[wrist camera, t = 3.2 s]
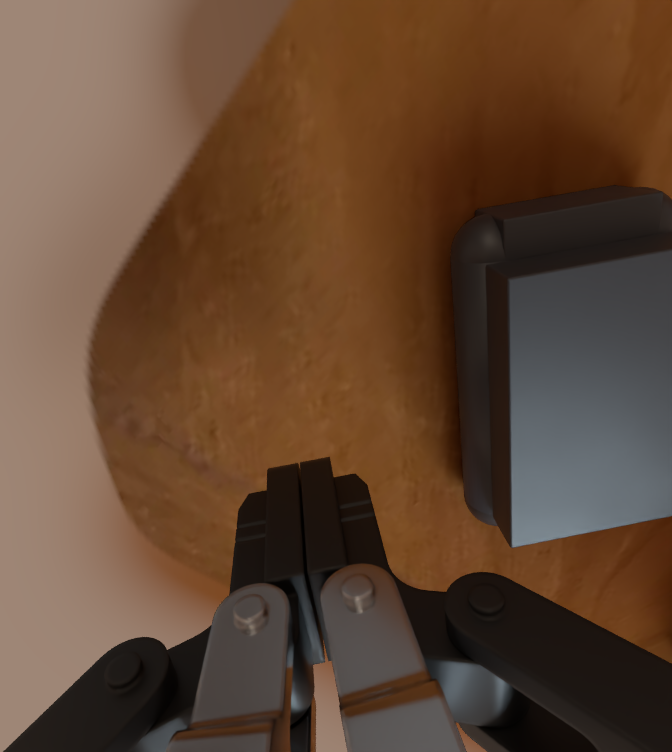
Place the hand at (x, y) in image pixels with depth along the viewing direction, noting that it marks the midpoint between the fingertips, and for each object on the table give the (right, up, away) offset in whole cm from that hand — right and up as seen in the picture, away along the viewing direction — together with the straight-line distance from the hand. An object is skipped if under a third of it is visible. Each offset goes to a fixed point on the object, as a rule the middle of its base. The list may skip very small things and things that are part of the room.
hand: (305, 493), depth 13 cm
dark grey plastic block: (+7, +3, +4) cm, 9 cm away
